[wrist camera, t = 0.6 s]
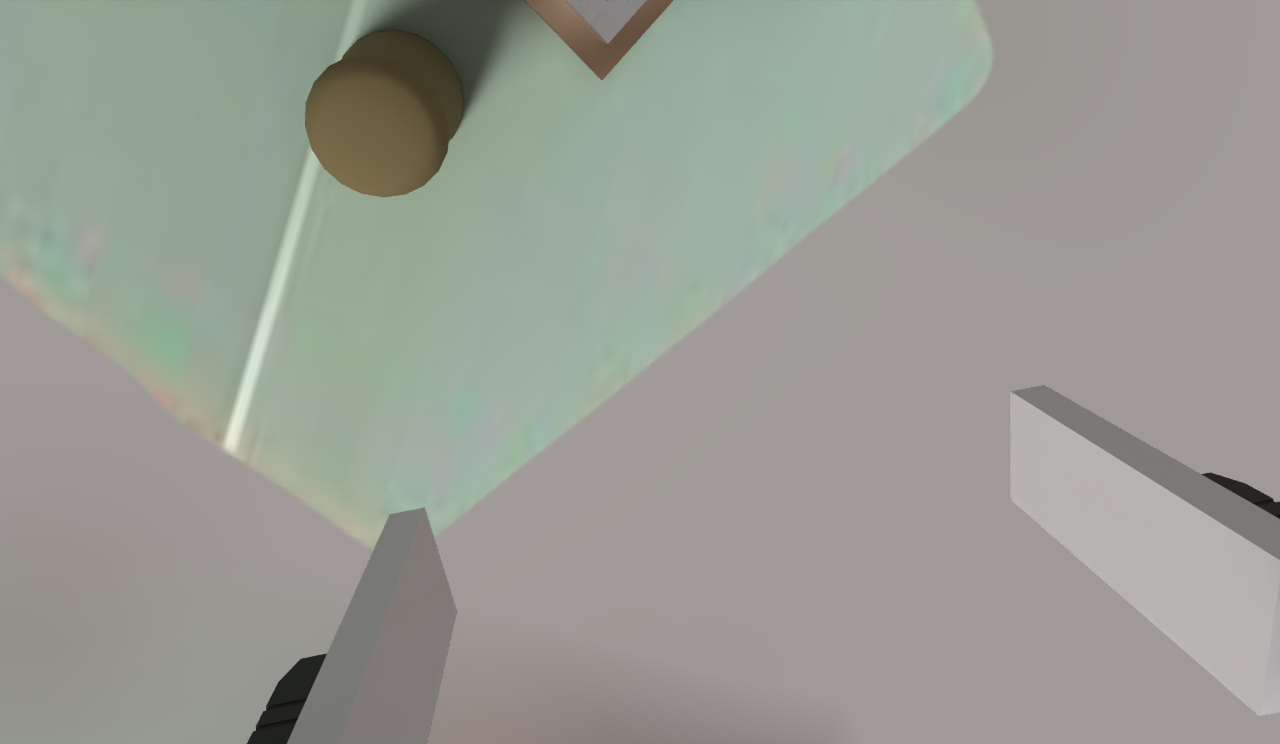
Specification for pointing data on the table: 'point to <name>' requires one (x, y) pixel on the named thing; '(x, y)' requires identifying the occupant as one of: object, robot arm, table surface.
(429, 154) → the cork
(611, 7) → the coaster
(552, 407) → the table surface
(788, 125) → the table surface
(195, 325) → the table surface
